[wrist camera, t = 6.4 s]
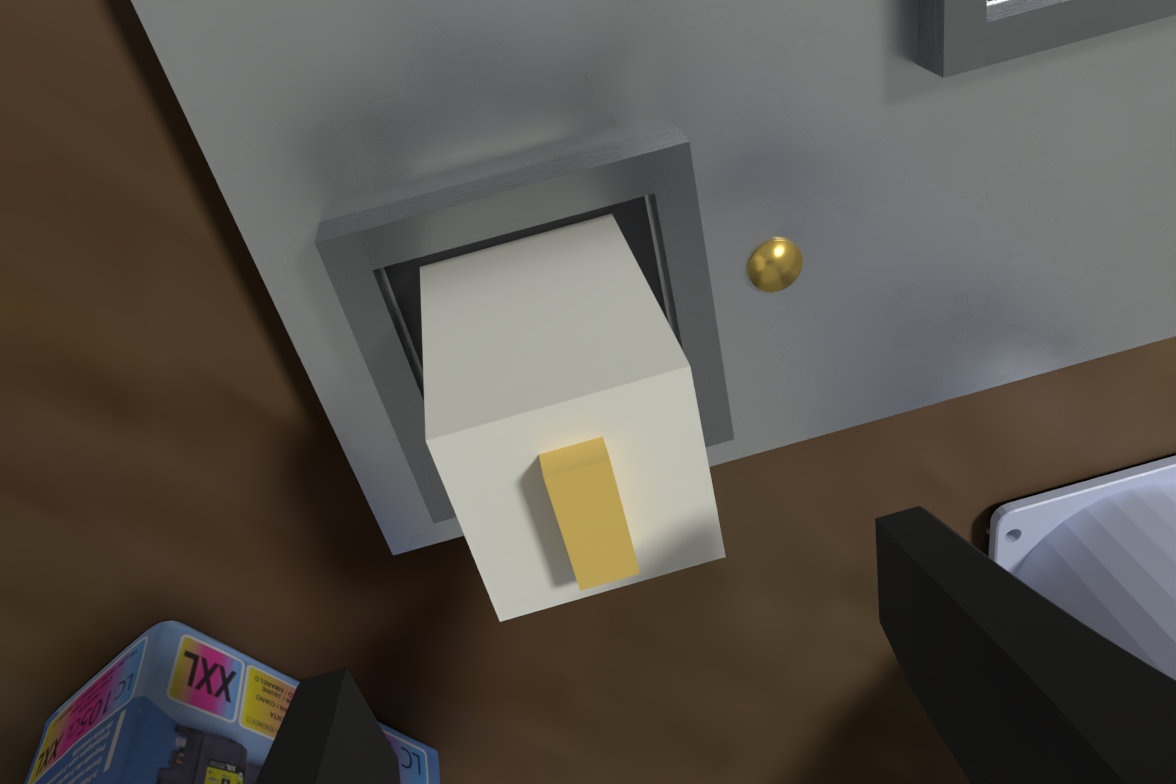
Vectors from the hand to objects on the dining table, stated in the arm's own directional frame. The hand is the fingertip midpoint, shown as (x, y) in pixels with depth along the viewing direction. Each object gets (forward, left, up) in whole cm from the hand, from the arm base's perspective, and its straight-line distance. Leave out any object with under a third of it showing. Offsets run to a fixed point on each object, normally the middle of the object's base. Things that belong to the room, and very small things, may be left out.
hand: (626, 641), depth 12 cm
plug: (0, 0, -9) cm, 9 cm away
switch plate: (+3, -6, -10) cm, 12 cm away
